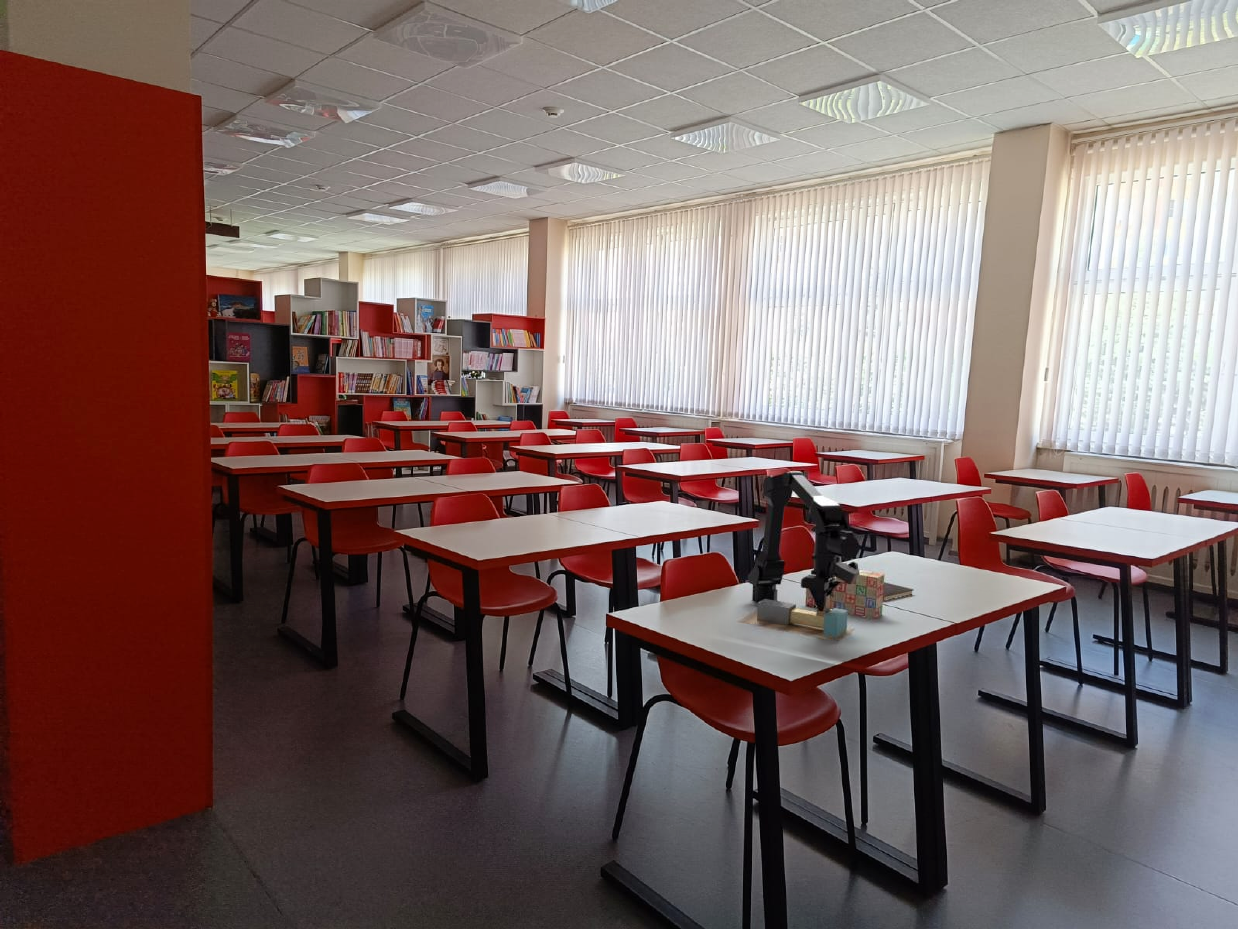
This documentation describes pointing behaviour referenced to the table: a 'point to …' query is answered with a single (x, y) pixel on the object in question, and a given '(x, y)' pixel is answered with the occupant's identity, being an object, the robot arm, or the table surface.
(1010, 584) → the table surface
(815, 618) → the l-shaped wooden step
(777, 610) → the sleeve
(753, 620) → the base board
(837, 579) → the stack of blocks
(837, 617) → the socket block
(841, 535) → the robot arm
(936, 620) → the table surface
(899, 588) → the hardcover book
